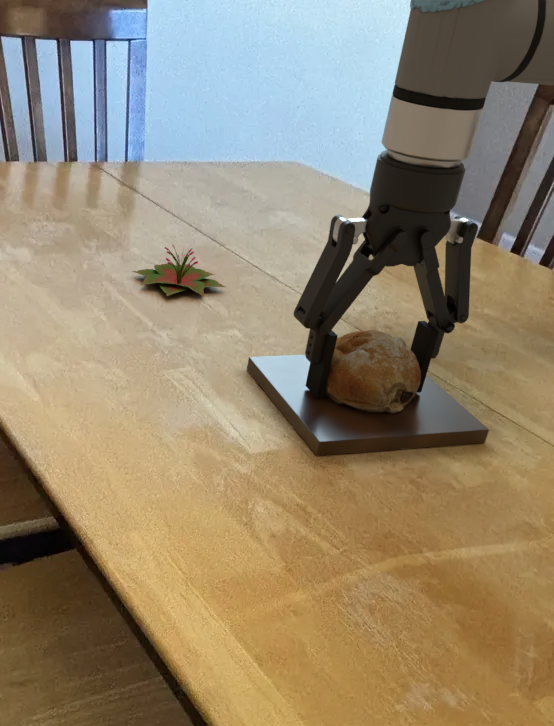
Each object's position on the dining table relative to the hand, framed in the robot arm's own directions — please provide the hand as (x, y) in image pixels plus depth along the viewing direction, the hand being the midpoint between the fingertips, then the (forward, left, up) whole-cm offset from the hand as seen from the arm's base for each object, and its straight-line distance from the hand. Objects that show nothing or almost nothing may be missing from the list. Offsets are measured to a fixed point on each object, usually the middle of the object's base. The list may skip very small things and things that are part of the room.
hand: (363, 389), depth 88 cm
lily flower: (+9, -34, -2) cm, 35 cm away
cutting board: (0, 0, -2) cm, 2 cm away
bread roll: (0, 0, 0) cm, 1 cm away
